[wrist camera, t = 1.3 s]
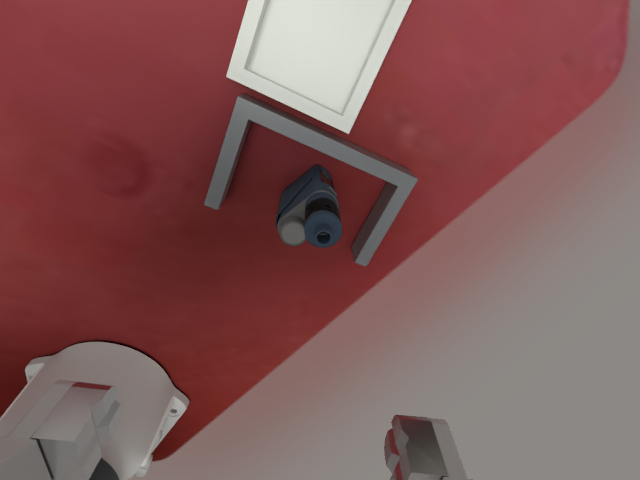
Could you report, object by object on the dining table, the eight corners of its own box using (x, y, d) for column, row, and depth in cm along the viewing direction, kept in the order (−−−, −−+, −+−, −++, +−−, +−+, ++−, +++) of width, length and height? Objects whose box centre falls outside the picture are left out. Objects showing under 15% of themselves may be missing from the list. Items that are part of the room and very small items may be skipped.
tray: (346, 129, 29) (348, 134, 27) (232, 75, 27) (226, 76, 25) (436, -67, 23) (448, -79, 21) (301, -155, 21) (300, -178, 19)
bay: (361, 251, 34) (366, 266, 31) (213, 192, 31) (203, 204, 28) (408, 169, 30) (418, 179, 28) (245, 93, 27) (237, 96, 24)
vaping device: (338, 180, 31) (353, 241, 20) (294, 213, 32) (286, 287, 21) (320, 157, 30) (327, 209, 19) (276, 193, 31) (258, 260, 20)
